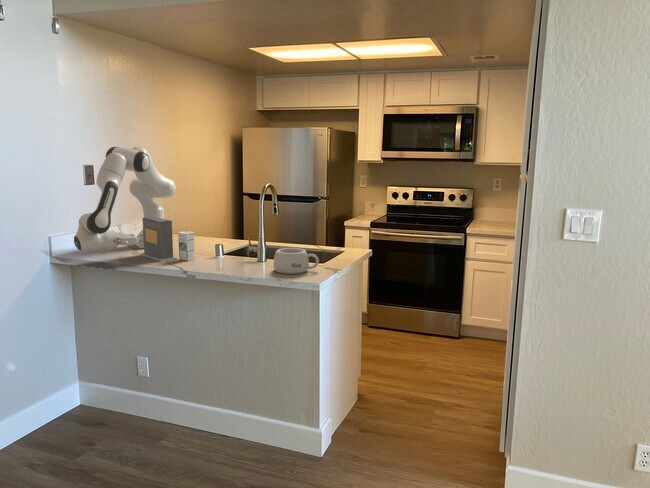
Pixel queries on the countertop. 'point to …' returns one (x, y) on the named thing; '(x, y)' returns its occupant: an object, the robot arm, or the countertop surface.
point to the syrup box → (186, 246)
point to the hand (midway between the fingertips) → (137, 237)
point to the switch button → (151, 235)
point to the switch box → (159, 239)
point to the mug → (293, 261)
